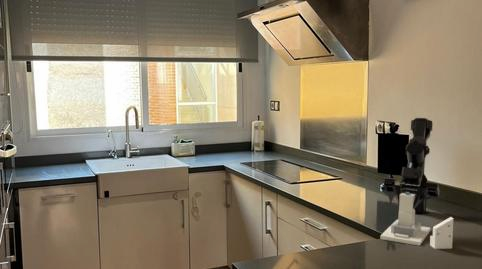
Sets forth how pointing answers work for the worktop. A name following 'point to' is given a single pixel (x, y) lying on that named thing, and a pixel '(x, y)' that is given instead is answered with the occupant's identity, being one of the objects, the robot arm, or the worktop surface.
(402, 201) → the block
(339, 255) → the worktop surface
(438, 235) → the white angled block
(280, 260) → the worktop surface
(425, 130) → the robot arm
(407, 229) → the rail mount
